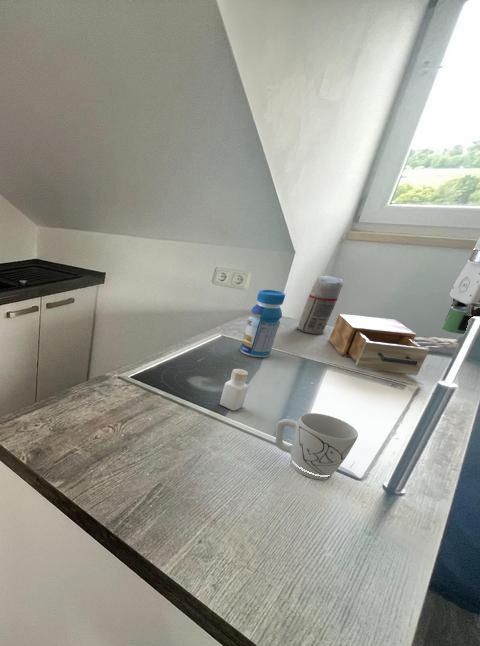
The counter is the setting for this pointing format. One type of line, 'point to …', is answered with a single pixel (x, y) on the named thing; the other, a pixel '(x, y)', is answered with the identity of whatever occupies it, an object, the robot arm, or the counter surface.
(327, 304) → the spray can
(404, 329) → the cabinet
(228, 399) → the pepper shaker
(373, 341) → the drawer
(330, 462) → the mug
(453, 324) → the tin can
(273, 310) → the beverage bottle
